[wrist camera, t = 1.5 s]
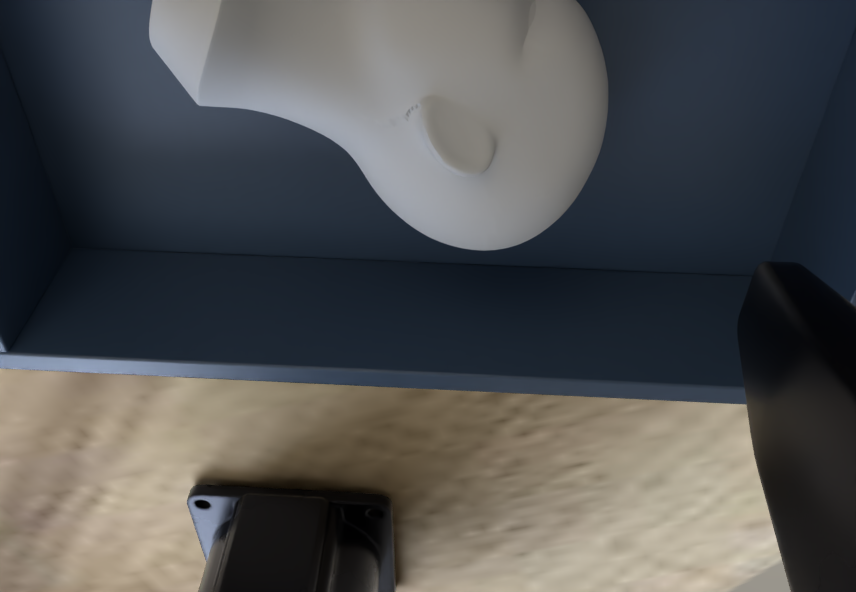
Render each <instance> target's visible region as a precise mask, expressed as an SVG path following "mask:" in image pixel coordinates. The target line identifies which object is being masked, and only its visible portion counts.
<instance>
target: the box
mask: <svg viewBox="0 0 856 592" xmlns="http://www.w3.org/2000/svg"><path fill="white" fill-rule="evenodd" d="M152 1H153V0H0V368H3V369H24V370H44V371H65V372H86V373H107V374H127V375H148V376H169V377H189V378H210V379H231V380H252V381H272V382H293V383H314V384H335V385H355V386H376V387H397V388H418V389H438V390H459V391H480V392H501V393H521V394H542V395H563V396H584V397H604V398H625V399H646V400H667V401H687V402H708V403H729V404H747V403H746V396H745V388H744V381H743V374H742V367H741V360H740V352H739V345H738V338H737V323H738V317H739V314H740V311H741V308H742V305H743V302H744V299H745V296H746V294H747V291H748V288H749V285H750V282H751V279H752V276H753V273H754V271H755V269H756V268H757V266H758V265H759V264H760V263H762V262H764V261H779V262H796V263H799V264H801V265H803V266H804V267H806V268H807V269H808V270H810V271H811V272H812V273H813V274H815V275H816V276H817V277H819V278H820V279H821V280H822V281H824V282H825V283H826V284H827V285H829V286H830V287H831V288H833V289H834V290H835V291H836V292H838V293H839V294H840V295H842V296H843V297H844V298H845V299H847V300H848V301H849V302H851V303H852V304H853V305H854V306H856V0H576V1H577V2H578V3H579V4H580V5H581V7H582V8H583V9H584V11H585V12H586V14H587V16H588V17H589V19H590V21H591V23H592V25H593V27H594V30H595V32H596V35H597V37H598V40H599V43H600V46H601V49H602V52H603V56H604V60H605V65H606V71H607V77H608V113H607V122H606V128H605V134H604V138H603V142H602V146H601V149H600V153H599V155H598V158H597V160H596V163H595V165H594V167H593V169H592V171H591V173H590V175H589V177H588V179H587V181H586V183H585V184H584V186H583V188H582V190H581V191H580V193H579V194H578V196H577V197H576V199H575V200H574V202H573V203H572V204H571V205H570V207H569V208H568V209H567V210H566V211H565V212H564V214H563V215H562V216H561V217H560V218H559V219H558V220H556V221H555V222H554V223H553V224H552V225H551V226H549V227H548V228H547V229H545V230H544V231H543V232H541V233H540V234H538V235H537V236H535V237H533V238H531V239H530V240H528V241H525V242H523V243H521V244H519V245H515V246H512V247H509V248H504V249H498V250H485V251H483V250H470V249H464V248H459V247H455V246H451V245H448V244H445V243H442V242H439V241H437V240H434V239H432V238H430V237H428V236H426V235H424V234H423V233H421V232H419V231H418V230H416V229H414V228H413V227H412V226H410V225H409V224H408V223H406V222H405V221H404V220H403V219H401V218H400V217H399V216H398V215H397V214H396V213H395V212H393V211H392V210H391V209H390V208H389V207H388V206H387V204H386V203H385V202H384V201H383V200H382V199H381V198H380V197H379V195H378V194H377V193H376V191H375V190H374V189H373V187H372V186H371V184H370V183H369V181H368V180H367V178H366V177H365V175H364V174H363V172H362V170H361V169H360V167H359V166H358V164H357V163H356V162H355V160H354V159H353V158H352V157H351V155H350V154H349V153H348V152H347V151H346V150H345V149H343V148H342V147H341V146H340V145H338V144H337V143H335V142H334V141H332V140H331V139H329V138H327V137H326V136H324V135H322V134H320V133H318V132H316V131H314V130H312V129H310V128H308V127H305V126H303V125H301V124H298V123H296V122H293V121H290V120H287V119H284V118H281V117H278V116H275V115H271V114H268V113H264V112H259V111H254V110H249V109H241V108H229V107H211V106H199V105H198V104H196V102H195V101H194V100H193V98H192V97H191V96H190V95H189V93H188V92H187V91H186V89H185V88H184V87H183V86H182V84H181V83H180V82H179V80H178V79H177V78H176V77H175V75H174V74H173V73H172V72H171V70H170V69H169V68H168V66H167V65H166V64H165V63H164V61H163V60H162V59H161V57H160V56H159V55H158V54H157V52H156V51H155V50H154V48H153V47H152V45H151V42H150V38H149V22H150V13H151V6H152Z"/></svg>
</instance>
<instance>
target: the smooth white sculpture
mask: <svg viewBox="0 0 856 592" xmlns="http://www.w3.org/2000/svg"><path fill="white" fill-rule="evenodd" d="M149 38H150V42H151V45H152V47H153V48H154V50H155V51H156V52H157V54H158V55H159V56H160V57H161V59H162V60H163V61H164V63H165V64H166V65H167V66H168V68H169V69H170V70H171V72H172V73H173V74H174V75H175V77H176V78H177V79H178V80H179V82H180V83H181V84H182V86H183V87H184V88H185V89H186V91H187V92H188V93H189V95H190V96H191V97H192V98H193V100H194V101H195V102H196V104H198V105H199V106H211V107H229V108H241V109H249V110H254V111H259V112H264V113H268V114H271V115H275V116H278V117H281V118H284V119H287V120H290V121H293V122H296V123H298V124H301V125H303V126H305V127H308V128H310V129H312V130H314V131H316V132H318V133H320V134H322V135H324V136H326V137H327V138H329V139H331V140H332V141H334V142H335V143H337V144H338V145H340V146H341V147H342V148H343V149H345V150H346V151H347V152H348V153H349V154H350V155H351V157H352V158H353V159H354V160H355V162H356V163H357V164H358V166H359V167H360V169H361V170H362V172H363V174H364V175H365V177H366V178H367V180H368V181H369V183H370V184H371V186H372V187H373V189H374V190H375V191H376V193H377V194H378V195H379V197H380V198H381V199H382V200H383V201H384V202H385V203H386V204H387V206H388V207H389V208H390V209H391V210H392V211H393V212H395V213H396V214H397V215H398V216H399V217H400V218H401V219H403V220H404V221H405V222H406V223H408V224H409V225H410V226H412V227H413V228H414V229H416V230H418V231H419V232H421V233H423V234H424V235H426V236H428V237H430V238H432V239H434V240H437V241H439V242H442V243H445V244H448V245H451V246H455V247H459V248H464V249H470V250H483V251H485V250H498V249H504V248H509V247H512V246H515V245H519V244H521V243H523V242H525V241H528V240H530V239H531V238H533V237H535V236H537V235H538V234H540V233H541V232H543V231H544V230H545V229H547V228H548V227H549V226H551V225H552V224H553V223H554V222H555V221H556V220H558V219H559V218H560V217H561V216H562V215H563V214H564V212H565V211H566V210H567V209H568V208H569V207H570V205H571V204H572V203H573V202H574V200H575V199H576V197H577V196H578V194H579V193H580V191H581V190H582V188H583V186H584V184H585V183H586V181H587V179H588V177H589V175H590V173H591V171H592V169H593V167H594V165H595V163H596V160H597V158H598V155H599V153H600V149H601V146H602V142H603V138H604V134H605V128H606V122H607V113H608V77H607V71H606V65H605V60H604V56H603V52H602V49H601V46H600V43H599V40H598V37H597V35H596V32H595V30H594V27H593V25H592V23H591V21H590V19H589V17H588V16H587V14H586V12H585V11H584V9H583V8H582V7H581V5H580V4H579V3H578V2H577V1H576V0H153V1H152V6H151V13H150V22H149Z"/></svg>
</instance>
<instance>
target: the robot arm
mask: <svg viewBox="0 0 856 592" xmlns="http://www.w3.org/2000/svg"><path fill="white" fill-rule="evenodd" d="M737 338H738V345H739V352H740V360H741V367H742V374H743V381H744V388H745V396H746V403H747V410H748V417H749V424H750V432H751V438H752V444H753V450H754V455H755V459H756V464H757V468H758V472H759V476H760V479H761V483H762V487H763V490H764V494H765V498H766V502H767V505H768V509H769V513H770V516H771V520H772V524H773V527H774V531H775V535H776V538H777V542H778V546H779V550H780V553H781V557H782V561H783V564H784V568H785V572H786V575H787V579H788V582H789V586H790V590H791V592H856V306H854V305H853V304H852V303H851V302H849V301H848V300H847V299H845V298H844V297H843V296H842V295H840V294H839V293H838V292H836V291H835V290H834V289H833V288H831V287H830V286H829V285H827V284H826V283H825V282H824V281H822V280H821V279H820V278H819V277H817V276H816V275H815V274H813V273H812V272H811V271H810V270H808V269H807V268H806V267H804V266H803V265H801V264H799V263H796V262H779V261H764V262H762V263H760V264H759V265H758V266H757V268H756V269H755V271H754V273H753V276H752V279H751V282H750V285H749V288H748V291H747V294H746V296H745V299H744V302H743V305H742V308H741V311H740V314H739V317H738V323H737ZM187 505H188V508H189V511H190V514H191V517H192V520H193V523H194V526H195V529H196V532H197V535H198V538H199V541H200V544H201V547H202V550H203V553H204V556H205V559H206V562H207V563H206V567H205V570H204V574H203V577H202V581H201V584H200V587H199V591H198V592H396V579H395V554H394V530H393V506H392V501H391V500H390V499H389V498H388V497H386V496H384V495H380V494H369V493H350V492H332V491H313V490H294V489H276V488H257V487H238V486H220V485H196V486H194V487H193V488H192V489H191V490H190V493H189V496H188V499H187Z"/></svg>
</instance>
